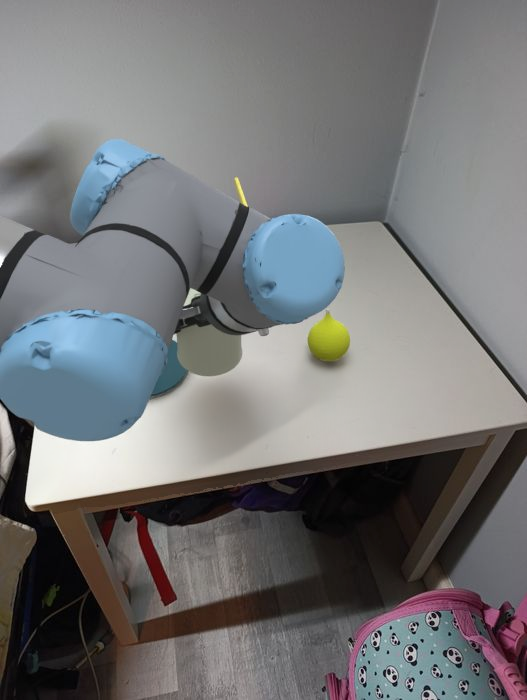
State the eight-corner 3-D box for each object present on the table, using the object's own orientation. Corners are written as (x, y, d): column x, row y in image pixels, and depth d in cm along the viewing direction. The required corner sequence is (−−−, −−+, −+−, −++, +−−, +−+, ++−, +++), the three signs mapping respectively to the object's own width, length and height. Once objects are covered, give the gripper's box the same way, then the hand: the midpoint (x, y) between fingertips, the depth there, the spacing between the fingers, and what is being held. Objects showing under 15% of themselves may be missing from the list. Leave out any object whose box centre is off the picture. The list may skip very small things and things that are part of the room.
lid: (126, 413, 76) (115, 367, 69) (92, 360, 84) (78, 313, 77) (204, 377, 82) (200, 331, 75) (165, 330, 90) (159, 284, 83)
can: (165, 366, 69) (156, 298, 61) (194, 324, 75) (189, 258, 67) (228, 384, 67) (227, 316, 59) (251, 340, 74) (253, 273, 65)
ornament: (318, 335, 90) (325, 291, 83) (353, 352, 88) (363, 308, 81) (297, 358, 86) (303, 314, 79) (334, 376, 83) (343, 332, 76)
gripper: (146, 359, 46) (132, 363, 68) (349, 307, 53) (277, 325, 74) (124, 280, 46) (117, 309, 67) (331, 237, 52) (265, 276, 74)
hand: (201, 317), depth 71 cm, fingers closed on can, 9 cm apart
